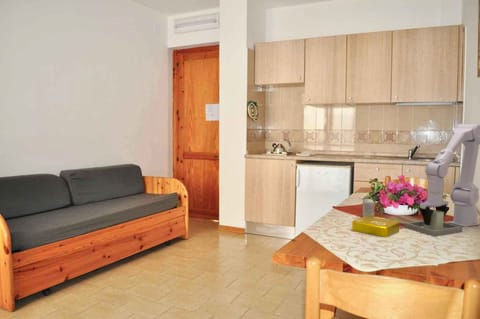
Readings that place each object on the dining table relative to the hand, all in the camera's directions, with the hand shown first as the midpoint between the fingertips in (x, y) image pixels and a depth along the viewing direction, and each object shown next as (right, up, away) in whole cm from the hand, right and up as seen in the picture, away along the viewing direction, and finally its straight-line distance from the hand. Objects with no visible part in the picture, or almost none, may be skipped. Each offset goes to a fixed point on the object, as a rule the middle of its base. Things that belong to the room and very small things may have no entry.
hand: (433, 224), depth 162 cm
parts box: (0, -2, 0) cm, 2 cm away
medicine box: (-21, -1, +18) cm, 28 cm away
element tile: (-25, -3, -1) cm, 25 cm away
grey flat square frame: (0, -2, 0) cm, 2 cm away
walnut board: (-6, -1, +14) cm, 15 cm away
